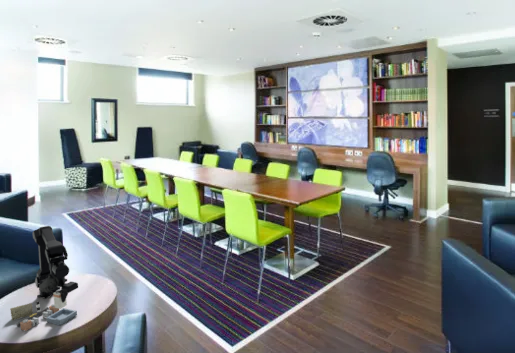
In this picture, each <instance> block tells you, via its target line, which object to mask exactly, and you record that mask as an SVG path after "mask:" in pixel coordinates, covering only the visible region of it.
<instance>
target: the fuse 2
mask: <svg viewBox="0 0 515 353" xmlns="http://www.w3.org/2000/svg"><path fill="white" fill-rule="evenodd" d="M49 310H52V312H53V314H54V313H56V312H57V311H59V310H60V309H59V308H55V305H54V303H53V304H51V305H49Z"/></svg>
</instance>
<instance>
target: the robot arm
mask: <svg viewBox="0 0 515 353" xmlns="http://www.w3.org/2000/svg"><path fill="white" fill-rule="evenodd" d="M53 230H54V229H53V227H52V226H51V225H45V226H41V227H39V228H38V229H34V230H33V231H32V239H33V240H34V242H35V243H36V245H38V260H39V261H38V262H39V269H38V270H37V272H36V276H35V280H34V283H35V287H36V288H37V289H38V292H39V294H38V295H36V296H37V298H41V299H47V298H50V297H51V296H53V293H54V292H56V291H57V290H59V289H61V290H60V291H58V292H59V293H60V294H61V300H62V302H65V300H66V301H67V297H68V294H69V293H71V292H74V291H75V290H76V289H78V288H79V284H78V282H76V281H69V282H68V278H66V276H68V275H69V273H70V267H69V266H68V265H67V264H66V263H65V261H66V260H68V256H69V255H68V254H69V253H68V251H67V248H66V246H65V245H63V243H62V241H59V240H57V239H56V237H55V235H54V231H53Z"/></svg>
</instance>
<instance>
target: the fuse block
mask: <svg viewBox="0 0 515 353" xmlns="http://www.w3.org/2000/svg"><path fill="white" fill-rule="evenodd" d="M49 307H50V306H49ZM49 307H48V306H45V308H42V309H40V312H37V311H36V312H35V313H34V312H33V315H31V316H27V317H25V319H28V320H31V325H32V327H35V326H36V325H38V324H40V320H39V316H42V318H45V319H47V317H49V316H50V315H52V314H53V312H52V310H49ZM25 319H23V320H25ZM23 320H21V321H19V322H17V323H16V327H17V328H21V325H20V322H22V321H23ZM35 323H36V324H35Z"/></svg>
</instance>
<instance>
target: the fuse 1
mask: <svg viewBox="0 0 515 353" xmlns="http://www.w3.org/2000/svg"><path fill="white" fill-rule="evenodd" d="M21 321H22V320H21ZM21 321H19V322H20V325H21V326H20V330H21V331H24V330H25V331H26V332H27V331H28V330H30V329H31V328H32V327H33V326H32V325H31V320H28V319H26V318H25V320H24V319H23V321H22V322H21ZM25 331H24V332H25Z"/></svg>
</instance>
